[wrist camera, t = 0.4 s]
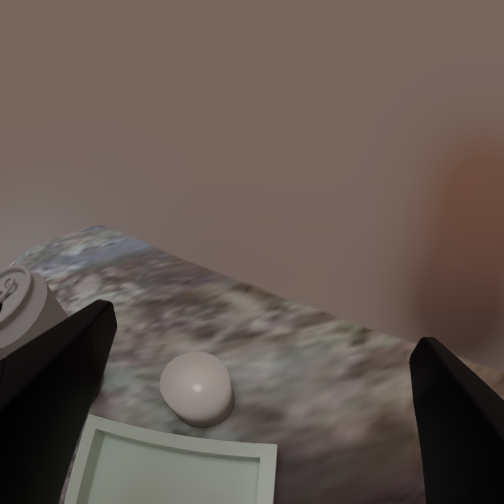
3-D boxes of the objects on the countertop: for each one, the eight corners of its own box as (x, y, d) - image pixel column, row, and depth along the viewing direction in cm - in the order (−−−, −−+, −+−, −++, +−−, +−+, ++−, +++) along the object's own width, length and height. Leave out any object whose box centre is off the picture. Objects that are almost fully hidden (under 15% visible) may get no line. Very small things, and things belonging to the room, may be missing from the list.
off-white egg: (231, 431, 20) (223, 416, 18) (167, 423, 21) (152, 407, 18) (238, 375, 24) (232, 353, 22) (180, 370, 24) (168, 348, 22)
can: (31, 383, 22) (-43, 302, 15) (76, 336, 27) (17, 246, 19) (70, 430, 19) (-24, 352, 12) (120, 372, 24) (52, 276, 16)
